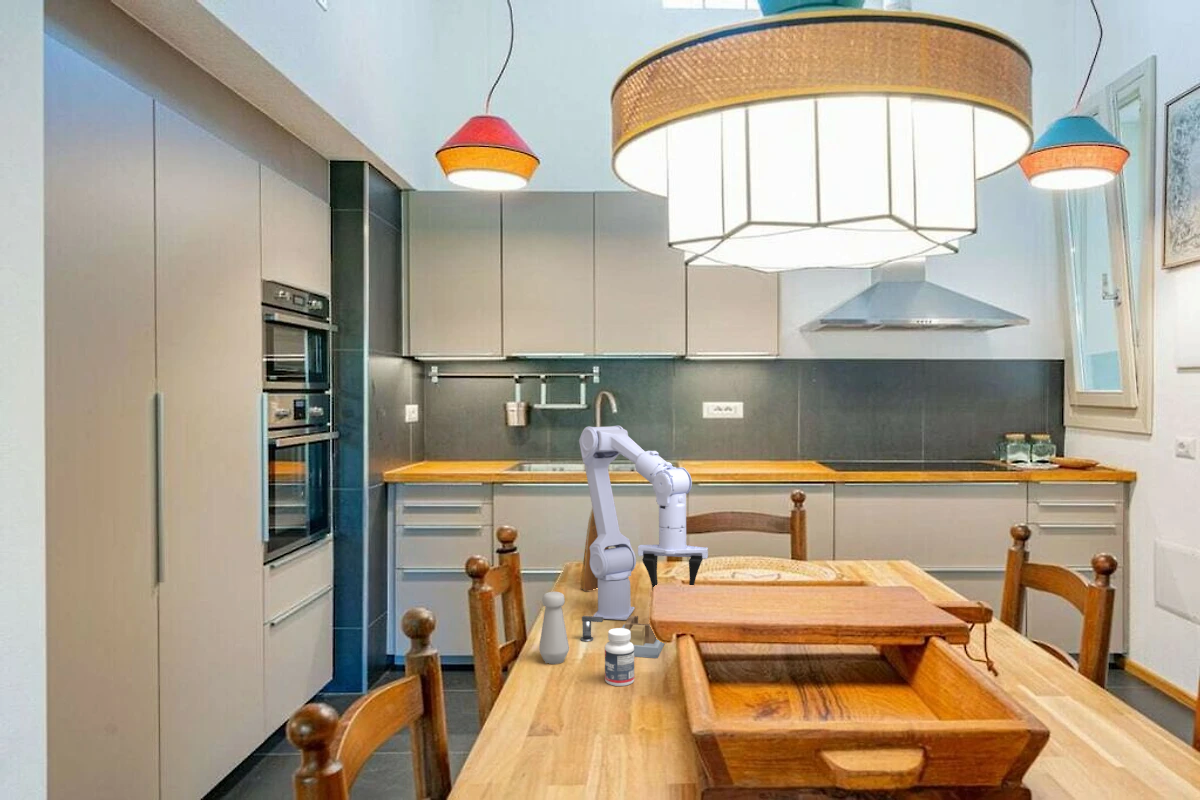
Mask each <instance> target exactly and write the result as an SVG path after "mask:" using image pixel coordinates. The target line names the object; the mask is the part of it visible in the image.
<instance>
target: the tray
mask: <svg viewBox="0 0 1200 800" xmlns="http://www.w3.org/2000/svg"><path fill="white" fill-rule="evenodd" d="M621 628H625V623H624V624H622V626H621ZM633 646H634V658H635V657H637V658H650V659H658V658H659V656H660V654H661V652H662V651H663V648H664V646H665V644H664V643H662V642H660V641H659V640H657V639H656V641H655V643H654V644H649V643H645V644H644V646H642V645H633Z"/></svg>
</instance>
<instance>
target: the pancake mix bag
mask: <svg viewBox="0 0 1200 800" xmlns="http://www.w3.org/2000/svg"><path fill="white" fill-rule="evenodd" d="M587 524H588V525H587V530H586V536H585V537H586V538H585V544H584V545H585V546H584V555H583V560H582V569H581V576H580V581H581V582H580V589H581V588H582V589H584V590H583V591H584V592H588V591H587V590H593V589H596V588H598V578H596V577H595V575H594V574H593V572H592V570H591V567H590V546H591V544H592V543H593V542H594V541H595V540H596V538H597V537H598V535H597V530H596V524H595V519H594V513H593V508H592V507H591V510H590V514H589V517H588V523H587ZM605 549H610V548H609V547H605ZM582 589H581V590H582Z"/></svg>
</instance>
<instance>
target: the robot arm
mask: <svg viewBox="0 0 1200 800" xmlns="http://www.w3.org/2000/svg"><path fill="white" fill-rule="evenodd" d="M578 442H579V447H580V454H581V459H582V463H583V464H584V468H585V474H586V480H587V481H586V482H587V486H588V490H589V497H590V502H591V509H592V508H593V513H594V519H595V524H596V530H597V535H598V537H597V538H596V540H595V541H594V542H593V543H592V544H591V546H590V567H591V570H592V572H593V574H594V575H595V577H596V578H598V590H597V609H598V610H596V612H595V613H594V614H593V616H595V617H603V620H613V621H614V620H616V621H617V620H618V621H627V620H628V619H629V617H630V616H632V614H633V612H634V611H635V607H634V606H631V604H632V602H631V580H630V578H629V577H631V576H632V572H633V571H635V568H636V564H637V557H636V554H635V551H634V549H633V547H632V544H631V540H630V539H629V537H627V536H625V535H624V534H623V533H622V532H621V531H620V525H619V522H618V514H617V509H616V505H615V500H614V495H613V489H612V484H611V483H612V482H611V477H610V473H609V466H610V465H611V463H612V462H614V461H615V460H616V459H617V457H618V456H619V455H621V456H623V457H624V458H626V459H627V460H629V461H630V462H632V463H633V464H634V465H635V470H636V472H637V473H638V474H639V475H641V476H642V477H643V478H644V479H645V480H647V481H648V482H649V483H650V484H651V485H652V490H653V492H654V494H655V498H656V503H657V505H658V544H639V545H638V546H637V555H638V556H640V557H641V556H642V563H643V565H644V567H645V569H646V571H647V573H648V576H649V579H650V583H651V587H652V590H653V587H654V586H655V585H657V584H658V583H659V582H658V559H659V558H658V557H659V556H660V557H679V558H689V560H688V570H689V574H688V575H689V584H688V586H689V585H694V586H695V583H696V579H697V575H698V572H699V569H700V566H701V564H702V562H703V560H704V559H708V557H709V548H708V547H702V546H694V545H692V546H691V545H687V494H689V493H690V491H691V489H692V485H693V481H692V477H691V474H690V472H688V470H687V469H686V468H685V467H675V466H673V464H672V463H671V462H669V461H666V460H665V459H664V458H662V457H661V456H660V455H659V454H660V453H659V452H658V451H657V450H647V451H645V450H644V449H642V447H641V446H640V445H639V444H638V443H636V442H635V441H634V440H633V439H632V438H631V437H630V436H629V432H628V430H627V429H625V428H623V427H622V426H621V425H612V426H589V425H588V426H586V427H584V429H583V430H582V432H581V434H580V437H579V439H578ZM605 547H611V548H609V549H605ZM612 547H613V548H612ZM658 585H659V584H658Z"/></svg>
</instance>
